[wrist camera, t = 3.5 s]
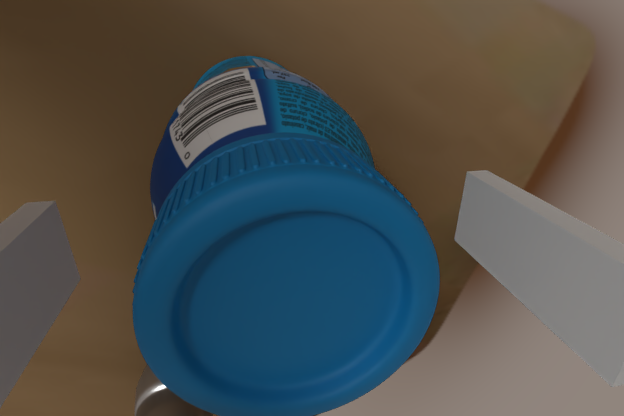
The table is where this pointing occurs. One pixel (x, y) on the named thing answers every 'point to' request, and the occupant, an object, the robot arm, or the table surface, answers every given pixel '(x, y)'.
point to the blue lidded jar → (276, 252)
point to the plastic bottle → (161, 399)
